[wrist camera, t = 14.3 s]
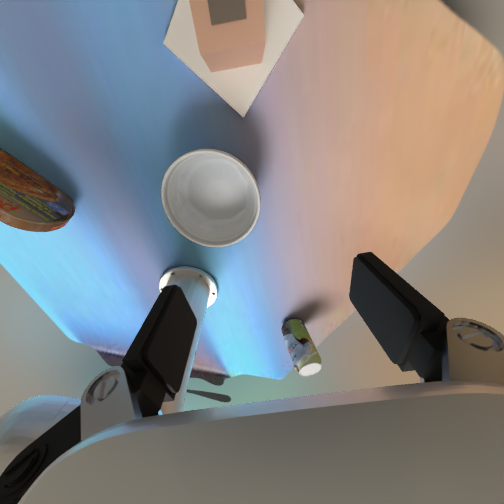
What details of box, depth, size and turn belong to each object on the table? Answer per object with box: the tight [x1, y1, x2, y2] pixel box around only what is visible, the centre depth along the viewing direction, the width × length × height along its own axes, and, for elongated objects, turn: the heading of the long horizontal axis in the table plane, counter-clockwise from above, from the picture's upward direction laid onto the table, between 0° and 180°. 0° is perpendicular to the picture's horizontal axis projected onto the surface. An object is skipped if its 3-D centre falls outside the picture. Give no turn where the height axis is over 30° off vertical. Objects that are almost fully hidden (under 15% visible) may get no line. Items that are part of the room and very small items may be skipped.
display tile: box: [163, 0, 304, 118], centre depth 20 cm, size 11×11×1 cm
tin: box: [0, 149, 75, 232], centre depth 26 cm, size 15×3×8 cm, turn 41°
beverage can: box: [282, 319, 321, 376], centre depth 44 cm, size 6×7×12 cm
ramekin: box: [161, 149, 260, 247], centre depth 27 cm, size 13×13×7 cm
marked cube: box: [189, 0, 266, 73], centre depth 17 cm, size 6×6×6 cm
